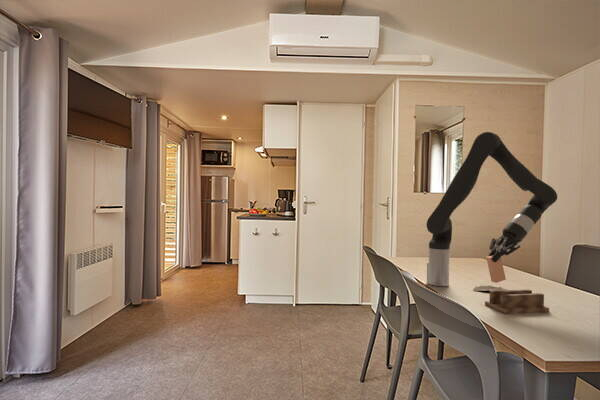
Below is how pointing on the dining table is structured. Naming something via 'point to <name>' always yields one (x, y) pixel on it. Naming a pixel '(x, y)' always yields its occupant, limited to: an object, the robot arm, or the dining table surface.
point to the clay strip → (496, 269)
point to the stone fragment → (488, 288)
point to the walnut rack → (517, 301)
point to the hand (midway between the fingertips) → (490, 260)
